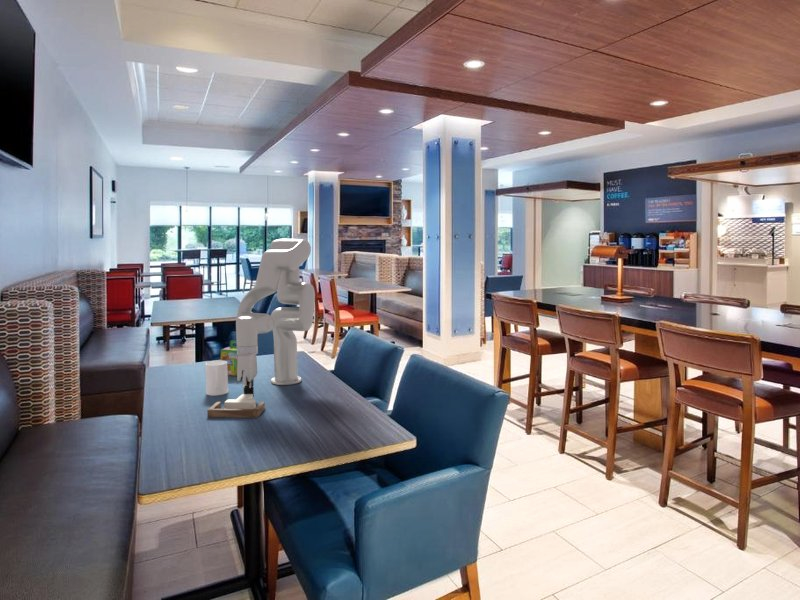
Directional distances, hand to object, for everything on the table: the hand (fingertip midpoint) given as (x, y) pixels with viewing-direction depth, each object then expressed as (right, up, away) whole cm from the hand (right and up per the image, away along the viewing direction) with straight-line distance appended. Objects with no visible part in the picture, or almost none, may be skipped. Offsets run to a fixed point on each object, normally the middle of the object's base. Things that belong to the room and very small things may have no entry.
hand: (248, 397), depth 196 cm
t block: (0, -2, -7) cm, 7 cm away
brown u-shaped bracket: (0, -3, -14) cm, 14 cm away
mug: (-15, 0, +8) cm, 17 cm away
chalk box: (-18, +3, +39) cm, 43 cm away
